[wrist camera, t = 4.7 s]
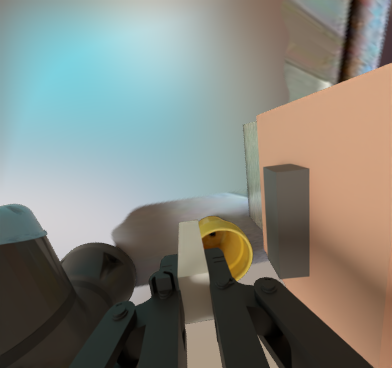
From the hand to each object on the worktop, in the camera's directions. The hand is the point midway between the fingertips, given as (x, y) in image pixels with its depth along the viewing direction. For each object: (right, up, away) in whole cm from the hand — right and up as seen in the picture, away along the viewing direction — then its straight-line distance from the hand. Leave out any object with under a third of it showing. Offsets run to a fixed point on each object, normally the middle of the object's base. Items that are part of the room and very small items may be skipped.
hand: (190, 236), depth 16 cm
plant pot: (+4, -5, +25) cm, 26 cm away
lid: (+10, +2, +2) cm, 11 cm away
